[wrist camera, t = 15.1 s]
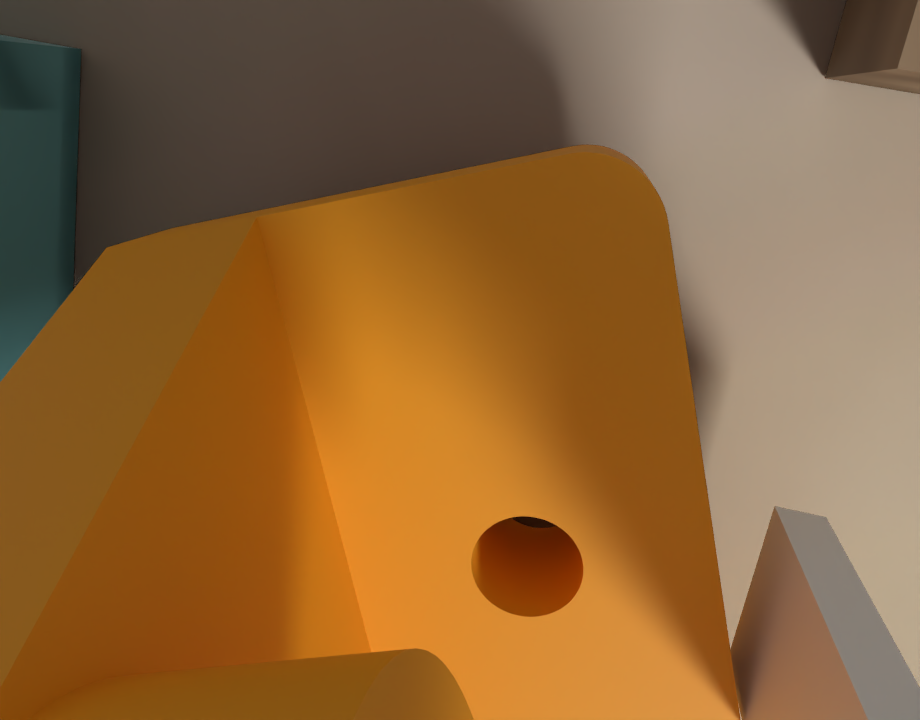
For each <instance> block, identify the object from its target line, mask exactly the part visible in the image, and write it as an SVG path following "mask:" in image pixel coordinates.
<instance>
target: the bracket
mask: <svg viewBox="0 0 920 720" xmlns="http://www.w3.org/2000/svg"><path fill="white" fill-rule="evenodd" d="M520 516H528V517H536V518H540V519H543V520H546V521H549V522H551V523H553V524H555V525H557V526H554V527H549V528H534V527H529V526H526V525H523V524H521V523H518V522H517V521H515V520H513V519H512V517H520ZM0 720H740V713H739V706H738V699H737V693H736V686H735V679H734V672H733V665H732V658H731V651H730V644H729V637H728V631H727V624H726V617H725V610H724V603H723V596H722V589H721V582H720V575H719V569H718V562H717V555H716V548H715V541H714V534H713V527H712V520H711V513H710V507H709V500H708V493H707V486H706V479H705V472H704V465H703V458H702V451H701V445H700V438H699V431H698V424H697V417H696V410H695V403H694V396H693V390H692V383H691V376H690V369H689V362H688V355H687V348H686V341H685V334H684V328H683V321H682V314H681V307H680V300H679V293H678V286H677V279H676V272H675V266H674V259H673V252H672V245H671V238H670V231H669V224H668V219H667V214H666V211H665V208H664V205H663V203H662V200H661V198H660V196H659V195H658V193H657V191H656V189H655V188H654V186H653V185H652V183H651V182H650V180H649V179H648V177H647V176H646V174H645V173H644V172H643V170H642V169H641V168H640V167H639V166H638V165H637V164H636V163H635V162H634V161H632V160H631V159H630V158H628V157H627V156H625V155H624V154H622V153H620V152H618V151H616V150H613V149H611V148H607V147H604V146H598V145H577V146H571V147H566V148H561V149H556V150H551V151H546V152H541V153H536V154H532V155H527V156H522V157H517V158H512V159H507V160H502V161H497V162H492V163H488V164H483V165H478V166H473V167H468V168H463V169H458V170H453V171H449V172H444V173H439V174H434V175H429V176H424V177H419V178H414V179H409V180H405V181H400V182H395V183H390V184H385V185H380V186H375V187H370V188H366V189H361V190H356V191H351V192H346V193H341V194H336V195H331V196H326V197H322V198H317V199H312V200H307V201H302V202H297V203H292V204H287V205H282V206H278V207H273V208H268V209H263V210H258V211H253V212H248V213H243V214H239V215H234V216H229V217H224V218H219V219H214V220H209V221H204V222H199V223H195V224H190V225H185V226H180V227H175V228H171V229H167V230H164V231H160V232H157V233H154V234H150V235H147V236H144V237H140V238H137V239H134V240H130V241H127V242H124V243H120V244H117V245H114V246H110V247H107V248H106V249H105V250H104V252H103V253H102V254H101V255H100V257H99V258H98V259H97V260H96V262H95V263H94V264H93V266H92V267H91V268H90V269H89V271H88V272H87V273H86V274H85V276H84V277H83V278H82V279H81V281H80V282H79V283H78V284H77V286H76V287H75V288H74V290H73V291H72V292H71V293H70V295H69V296H68V297H67V298H66V300H65V301H64V302H63V303H62V305H61V306H60V307H59V309H58V310H57V311H56V312H55V314H54V315H53V316H52V317H51V319H50V320H49V321H48V322H47V324H46V325H45V326H44V328H43V329H42V330H41V331H40V333H39V334H38V335H37V336H36V338H35V339H34V340H33V341H32V343H31V344H30V345H29V347H28V348H27V349H26V350H25V352H24V353H23V354H22V355H21V357H20V358H19V359H18V360H17V362H16V363H15V364H14V365H13V367H12V368H11V369H10V371H9V372H8V373H7V374H6V376H5V377H4V378H3V379H2V381H1V382H0Z"/></svg>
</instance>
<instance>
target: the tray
mask: <svg viewBox="0 0 920 720" xmlns="http://www.w3.org/2000/svg"><path fill="white" fill-rule="evenodd" d="M80 66H81V49H77V48H72V47H66V46H61V45H55V44H50V43H44V42H38V41H33V40H27V39H22V38H16V37H11V36H5V35H0V382H1V381H2V379H3V378H4V377H5V376H6V374H7V373H8V372H9V371H10V369H11V368H12V367H13V365H14V364H15V363H16V362H17V360H18V359H19V358H20V357H21V355H22V354H23V353H24V352H25V350H26V349H27V348H28V347H29V345H30V344H31V343H32V341H33V340H34V339H35V338H36V336H37V335H38V334H39V333H40V331H41V330H42V329H43V328H44V326H45V325H46V324H47V322H48V321H49V320H50V319H51V317H52V316H53V315H54V314H55V312H56V311H57V310H58V309H59V307H60V306H61V305H62V303H63V302H64V301H65V300H66V298H67V297H68V296H69V295H70V293H71V292H72V291H73V279H74V249H75V219H76V188H77V158H78V127H79V97H80Z"/></svg>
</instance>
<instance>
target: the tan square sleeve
mask: <svg viewBox="0 0 920 720" xmlns="http://www.w3.org/2000/svg"><path fill="white" fill-rule="evenodd" d="M825 78H827V79H833V80H839V81H845V82H851V83H857V84H863V85H869V86H875V87H881V88H887V89H893V90H899V91H905V92H911V93H917V94H920V0H847V1H846V5H845V8H844V12H843V15H842V19H841V23H840V26H839V30H838V33H837V37H836V40H835V44H834V47H833V51H832V55H831V58H830V62H829V65H828V69H827V72H826V76H825Z"/></svg>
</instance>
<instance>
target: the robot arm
mask: <svg viewBox="0 0 920 720" xmlns="http://www.w3.org/2000/svg"><path fill="white" fill-rule="evenodd" d="M730 651H731V658H732V665H733V672H734V679H735V686H736V693H737V699H738V704H739V708H740V713H741V717H742V720H920V687H919V686H918V684H917V682H916V680H915V678H914V676H913V675H912V673H911V671H910V669H909V667H908V666H907V664H906V662H905V660H904V658H903V656H902V655H901V653H900V651H899V649H898V647H897V645H896V644H895V642H894V640H893V638H892V636H891V635H890V633H889V631H888V629H887V627H886V625H885V624H884V622H883V620H882V618H881V616H880V614H879V613H878V611H877V609H876V607H875V605H874V604H873V602H872V600H871V598H870V596H869V594H868V593H867V591H866V589H865V587H864V585H863V584H862V582H861V580H860V578H859V576H858V574H857V573H856V571H855V569H854V567H853V565H852V563H851V562H850V560H849V558H848V556H847V554H846V553H845V551H844V549H843V547H842V545H841V543H840V542H839V540H838V538H837V536H836V534H835V532H834V531H833V529H832V527H831V525H830V523H829V522H828V520H827V518H826V517H823V516H818V515H814V514H809V513H804V512H800V511H795V510H790V509H786V508H781V507H776V506H775V507H774V510H773V513H772V517H771V520H770V523H769V526H768V530H767V533H766V536H765V539H764V543H763V546H762V549H761V552H760V556H759V559H758V562H757V565H756V569H755V572H754V575H753V578H752V582H751V585H750V588H749V591H748V594H747V598H746V601H745V604H744V607H743V611H742V614H741V617H740V620H739V624H738V627H737V630H736V633H735V637H734V640H733V643H732V646H731V650H730Z"/></svg>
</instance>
